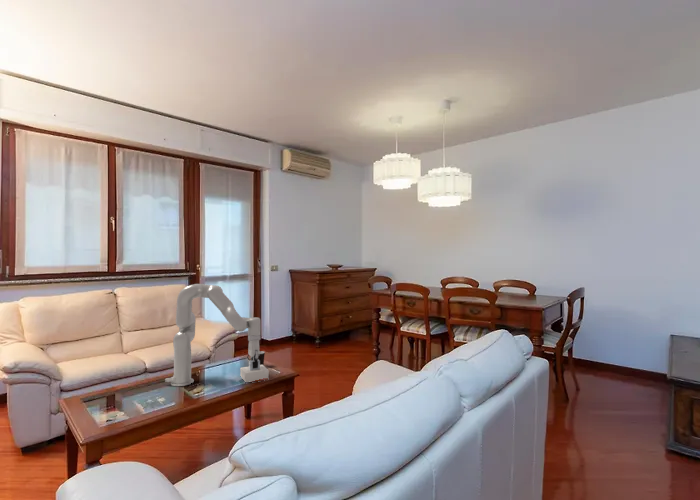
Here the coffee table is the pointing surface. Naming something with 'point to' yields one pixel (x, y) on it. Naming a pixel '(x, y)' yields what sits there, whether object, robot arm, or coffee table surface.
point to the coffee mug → (260, 357)
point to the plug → (252, 365)
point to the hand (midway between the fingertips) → (254, 366)
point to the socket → (253, 373)
